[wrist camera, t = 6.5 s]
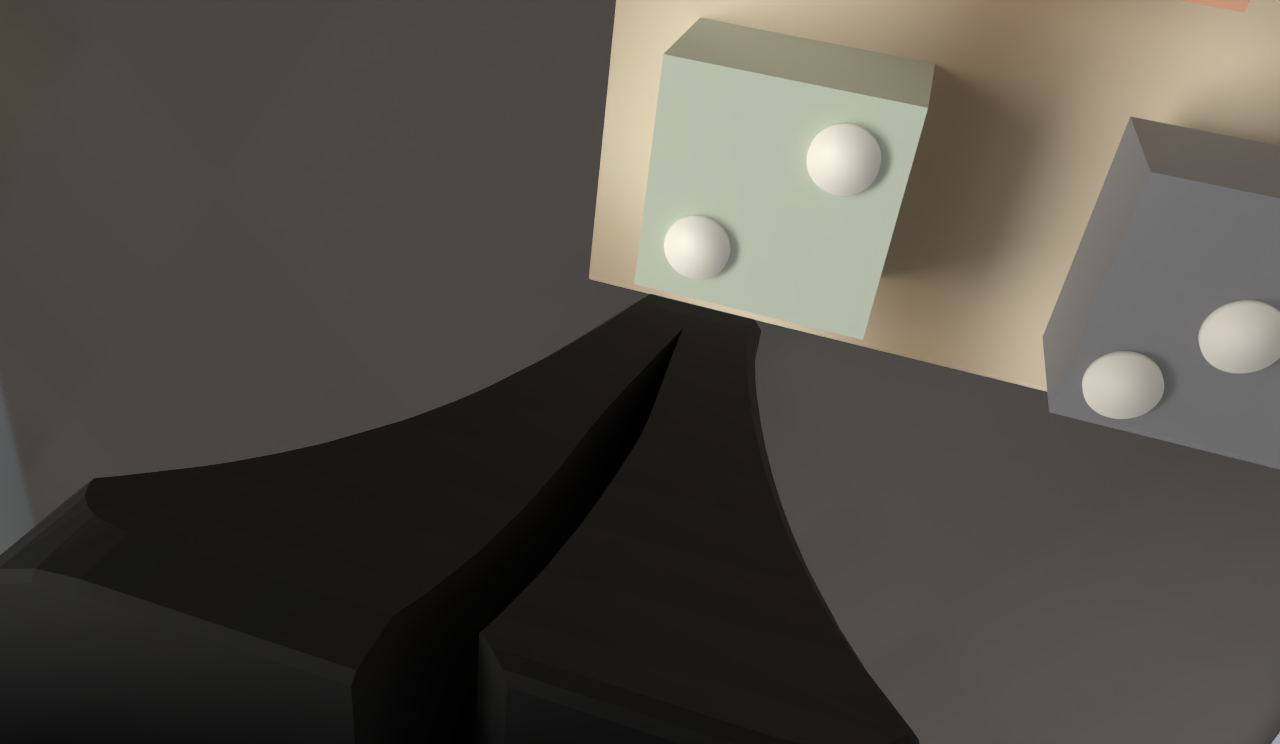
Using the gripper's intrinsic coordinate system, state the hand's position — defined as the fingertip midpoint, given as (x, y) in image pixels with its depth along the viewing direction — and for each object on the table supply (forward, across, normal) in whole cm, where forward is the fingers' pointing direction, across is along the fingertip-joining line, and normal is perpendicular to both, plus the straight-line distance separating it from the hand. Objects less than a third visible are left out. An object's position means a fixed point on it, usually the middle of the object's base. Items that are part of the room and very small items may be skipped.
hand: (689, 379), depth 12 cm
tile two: (+8, 0, 0) cm, 8 cm away
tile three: (+7, -7, 0) cm, 10 cm away
